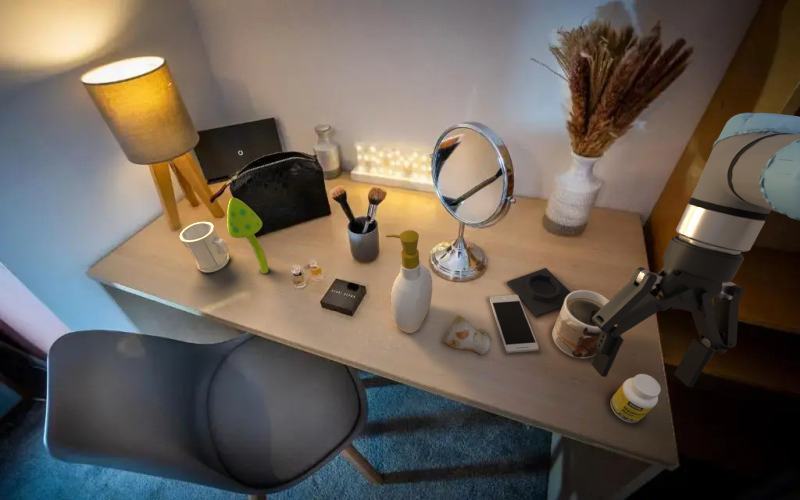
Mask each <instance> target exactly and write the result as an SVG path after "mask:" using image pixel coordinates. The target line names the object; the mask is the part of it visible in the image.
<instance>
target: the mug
mask: <svg viewBox="0 0 800 500" xmlns="http://www.w3.org/2000/svg"><path fill="white" fill-rule="evenodd" d="M609 301H610V299H608V298H607V297H606V296H604V295H602V294H600V293H598V292H596V291H593V290H585V289H578V290H573V291H572V292H571V293H570V294H569V295H567V297H566V298H565V301H564V303H563V305H562V308H561V309H559V310H560V311H559V313H558V316H557V318H556V320H555V323H554V326H553V328H552V332H551V335H552V339H553V342H554V344H555V346H557V348H558V349H559V350H560V351H561V352H563V353H564V354H566V355H568V356H570V357H573V358H576V359H589V358H593V357H595V354H596V352H597V349H596V343H597V340H598V338H599V336H600V334H601V331H602V330H601V329H600V328H599V327H598V326H597V325H596V324H595V323H594V322H593V321H592V317H593V316H594V315H595V314H596V313H597V312H598V311H599V310H600V309H601V308H602V307H603V306H604V305H605V304H607V303H608V302H609Z"/></svg>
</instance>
